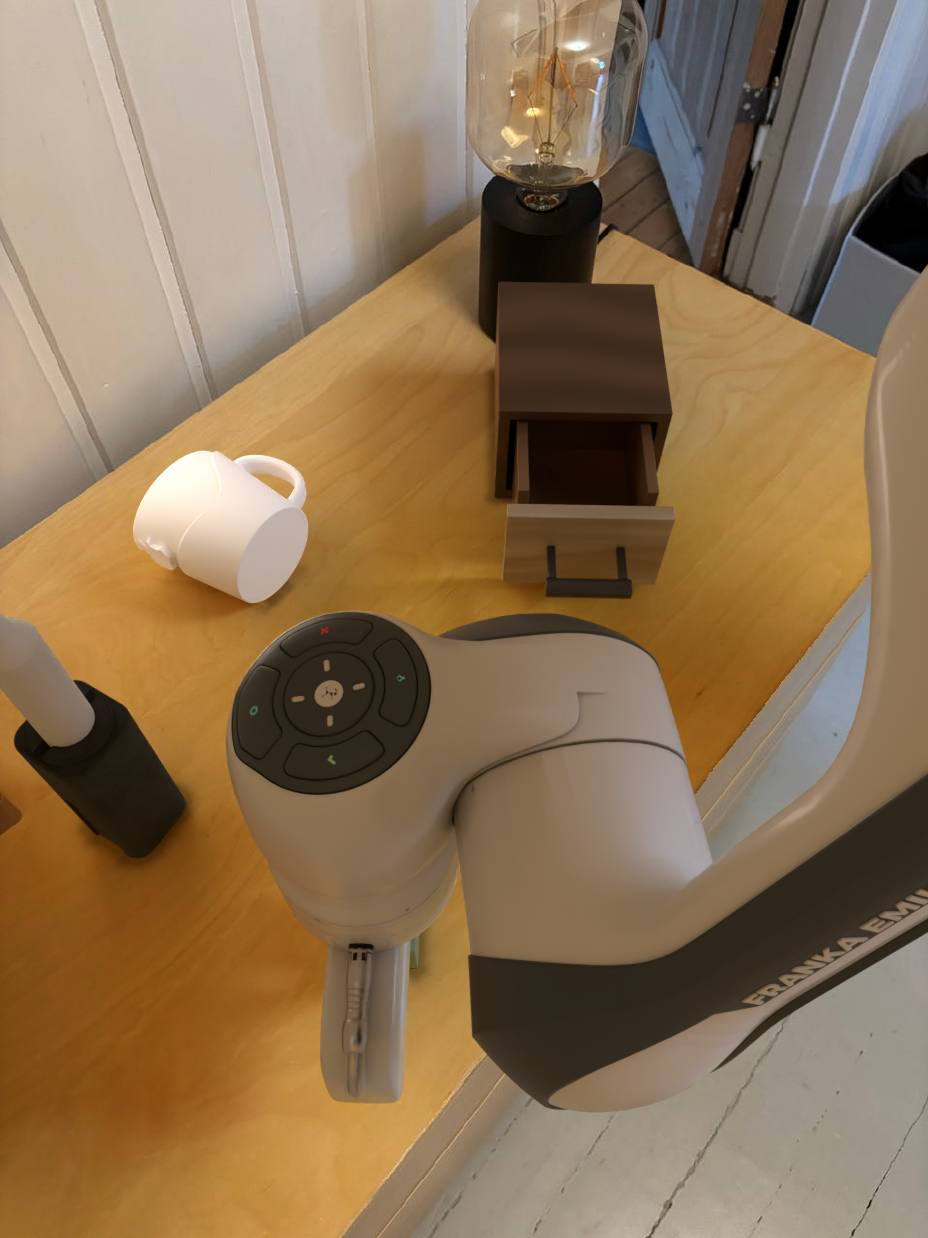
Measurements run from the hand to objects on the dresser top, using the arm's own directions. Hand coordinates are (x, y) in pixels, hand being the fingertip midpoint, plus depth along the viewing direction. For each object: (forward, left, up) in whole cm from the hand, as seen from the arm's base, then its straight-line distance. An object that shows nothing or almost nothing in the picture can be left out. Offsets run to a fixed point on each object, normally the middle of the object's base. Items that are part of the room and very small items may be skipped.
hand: (386, 926), depth 57 cm
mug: (+13, -29, -2) cm, 32 cm away
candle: (+17, -7, -2) cm, 19 cm away
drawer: (-13, -31, -1) cm, 33 cm away
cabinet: (-13, -43, -2) cm, 45 cm away
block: (0, 0, -2) cm, 2 cm away
